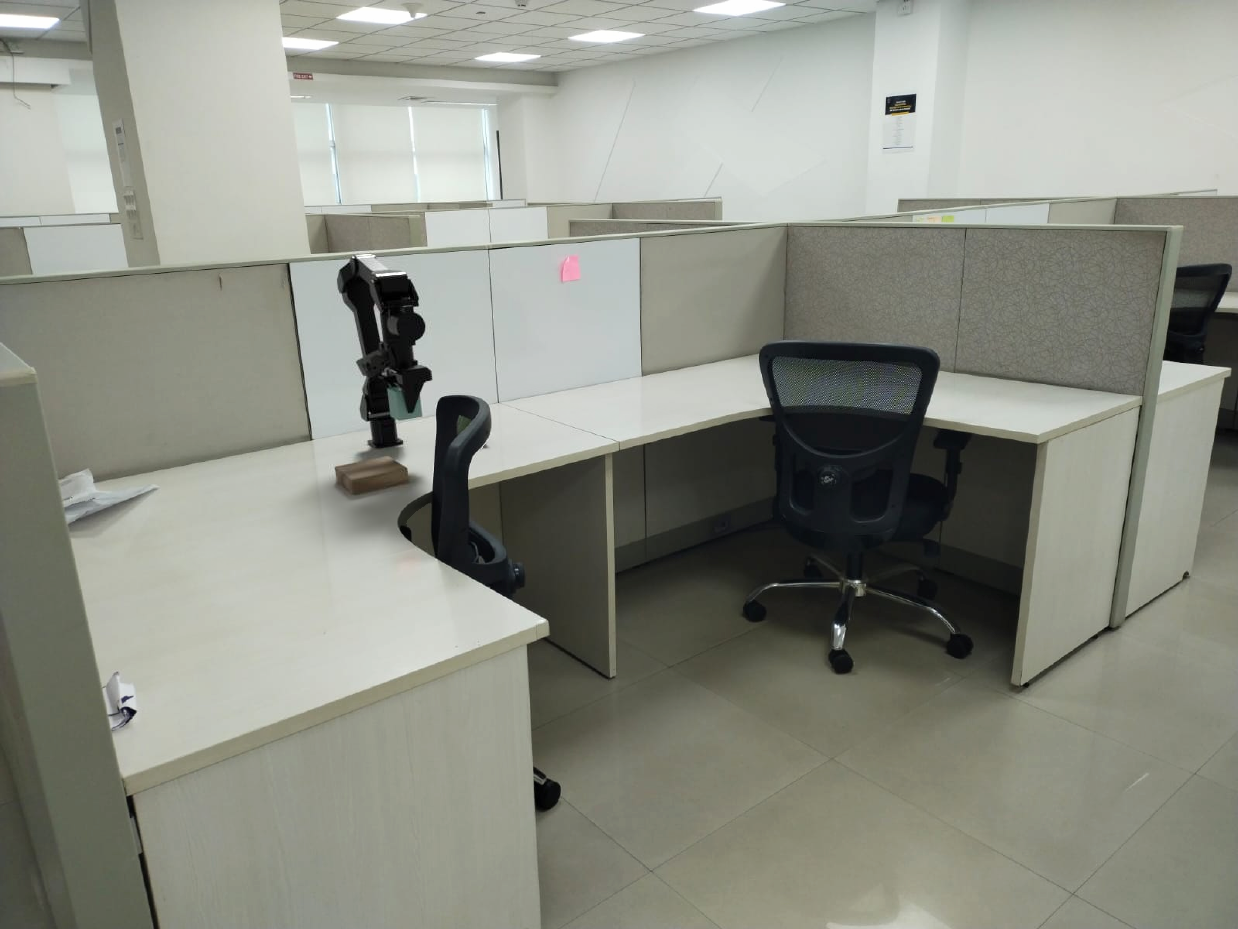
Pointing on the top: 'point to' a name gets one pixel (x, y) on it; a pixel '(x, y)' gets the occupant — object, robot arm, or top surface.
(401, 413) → the teal block
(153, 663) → the top surface
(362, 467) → the walnut base
